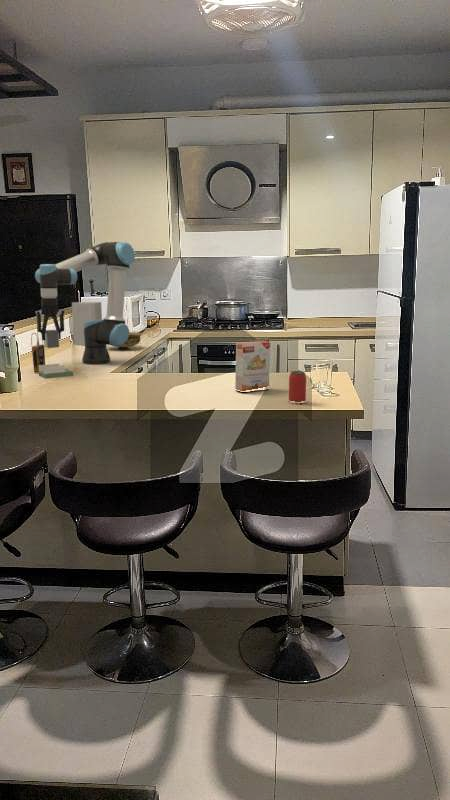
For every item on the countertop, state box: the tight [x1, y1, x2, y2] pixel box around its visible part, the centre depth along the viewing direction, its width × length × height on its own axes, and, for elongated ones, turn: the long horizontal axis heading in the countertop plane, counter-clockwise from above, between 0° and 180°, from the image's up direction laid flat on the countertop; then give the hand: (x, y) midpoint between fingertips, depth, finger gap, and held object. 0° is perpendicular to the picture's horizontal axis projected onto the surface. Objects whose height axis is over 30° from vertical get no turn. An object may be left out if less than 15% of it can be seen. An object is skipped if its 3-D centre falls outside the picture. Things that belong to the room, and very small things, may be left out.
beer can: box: [288, 370, 307, 402], centre depth 239 cm, size 7×7×12 cm
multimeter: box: [30, 331, 46, 375], centre depth 309 cm, size 15×10×20 cm
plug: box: [45, 329, 60, 349], centre depth 295 cm, size 5×5×8 cm
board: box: [38, 363, 74, 379], centre depth 299 cm, size 14×9×5 cm, turn 124°
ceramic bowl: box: [111, 331, 143, 351], centre depth 390 cm, size 30×24×10 cm
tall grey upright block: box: [71, 301, 103, 347], centre depth 409 cm, size 19×15×28 cm
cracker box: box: [234, 340, 271, 391], centre depth 260 cm, size 14×6×21 cm, turn 122°
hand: (51, 346), depth 295 cm, fingers closed on plug, 5 cm apart
